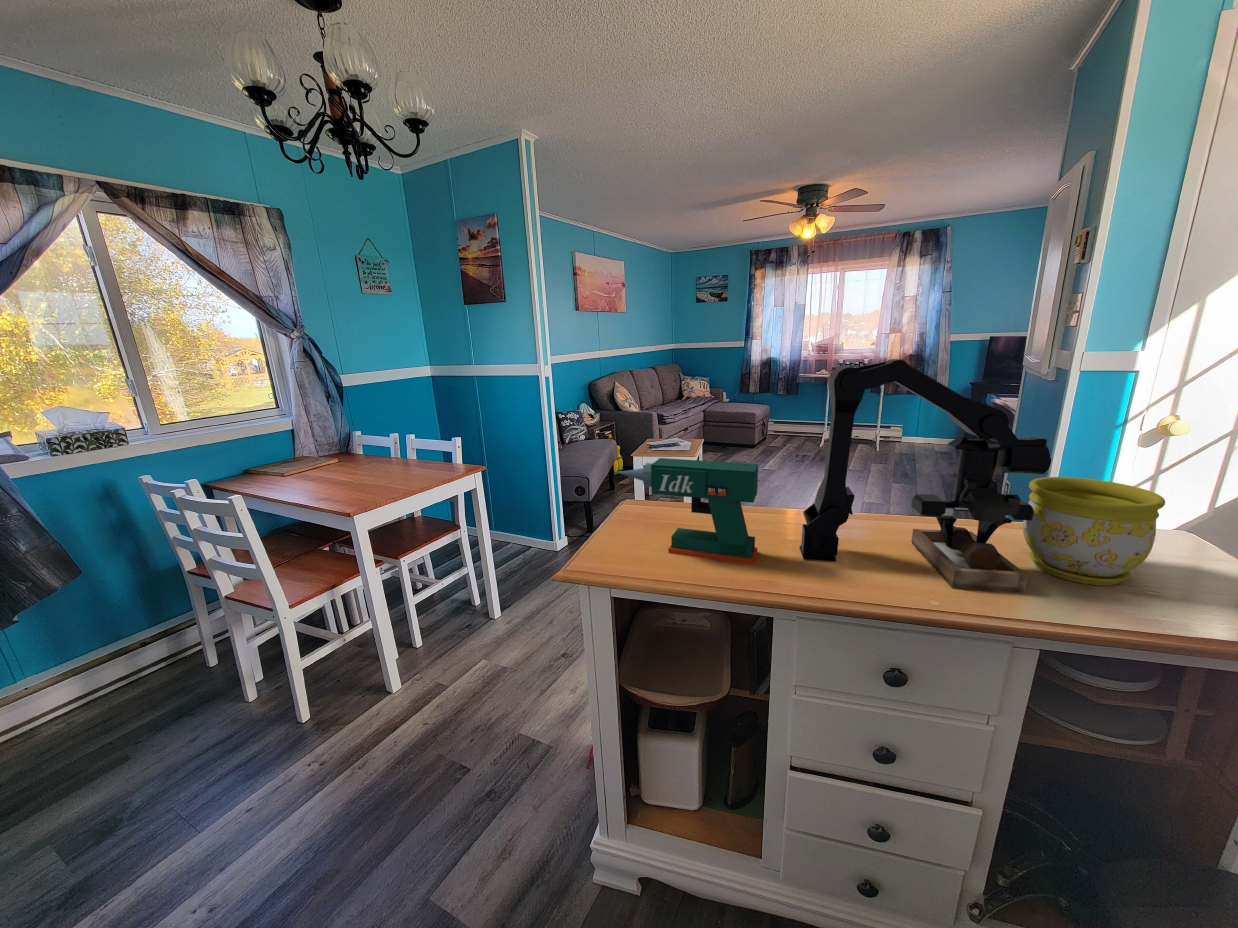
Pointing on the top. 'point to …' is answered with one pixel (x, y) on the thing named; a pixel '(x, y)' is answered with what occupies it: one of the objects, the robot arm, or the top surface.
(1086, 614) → the top surface
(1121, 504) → the flowerpot
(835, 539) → the robot arm
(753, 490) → the power tool
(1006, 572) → the wooden tray
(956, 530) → the bolt
